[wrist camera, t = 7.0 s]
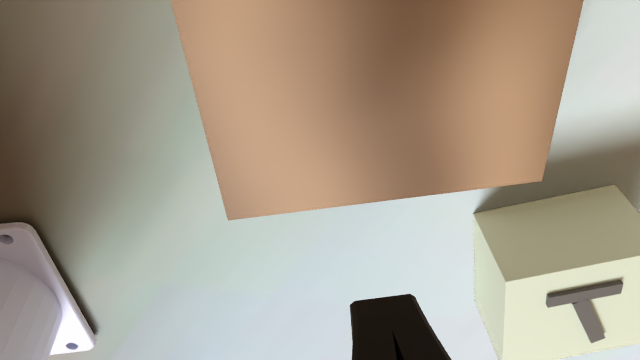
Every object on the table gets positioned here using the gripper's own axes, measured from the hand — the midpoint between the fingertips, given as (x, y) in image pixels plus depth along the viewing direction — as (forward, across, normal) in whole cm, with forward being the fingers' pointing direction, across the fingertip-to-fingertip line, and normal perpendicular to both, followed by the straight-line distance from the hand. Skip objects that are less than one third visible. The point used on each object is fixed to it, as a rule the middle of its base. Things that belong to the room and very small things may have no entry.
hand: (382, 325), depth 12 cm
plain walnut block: (+9, -1, -4) cm, 10 cm away
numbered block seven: (+9, -9, +8) cm, 15 cm away
